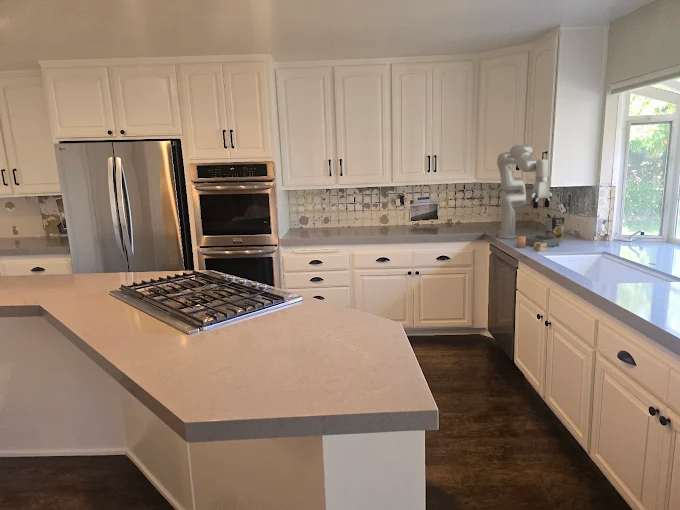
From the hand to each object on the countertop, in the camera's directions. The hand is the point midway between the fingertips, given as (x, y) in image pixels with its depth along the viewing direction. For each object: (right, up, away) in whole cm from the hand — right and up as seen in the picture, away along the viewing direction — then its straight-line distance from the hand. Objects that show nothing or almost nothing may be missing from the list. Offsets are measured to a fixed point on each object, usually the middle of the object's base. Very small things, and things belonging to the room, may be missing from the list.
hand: (541, 207), depth 279 cm
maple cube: (-2, -27, -3) cm, 27 cm away
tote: (+6, -23, +15) cm, 28 cm away
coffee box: (+20, -20, +25) cm, 38 cm away
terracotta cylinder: (-9, -24, +10) cm, 27 cm away
